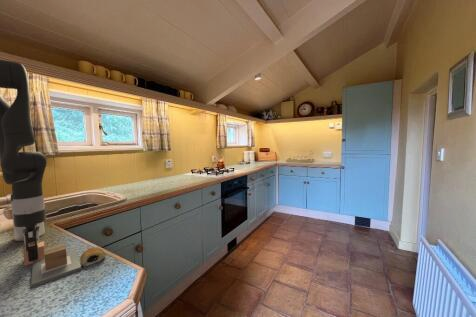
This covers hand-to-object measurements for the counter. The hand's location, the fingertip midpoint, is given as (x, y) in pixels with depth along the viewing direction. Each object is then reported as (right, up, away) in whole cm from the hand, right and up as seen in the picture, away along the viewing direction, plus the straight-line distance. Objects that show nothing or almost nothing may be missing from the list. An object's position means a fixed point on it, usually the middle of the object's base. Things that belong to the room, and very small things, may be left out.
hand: (34, 255), depth 69 cm
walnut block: (+12, 0, -5) cm, 13 cm away
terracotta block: (0, -2, 0) cm, 2 cm away
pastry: (+21, -2, 0) cm, 21 cm away
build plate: (+12, -2, -5) cm, 13 cm away
